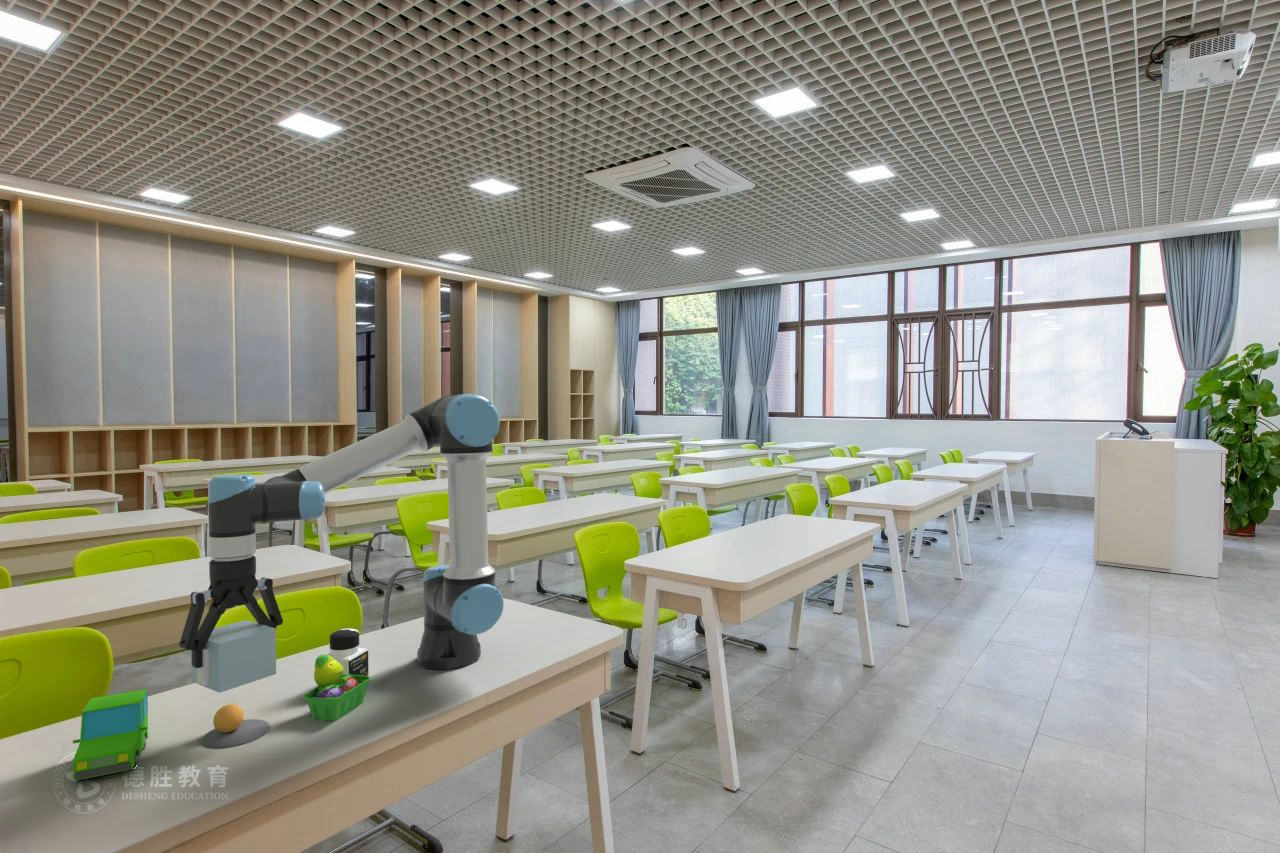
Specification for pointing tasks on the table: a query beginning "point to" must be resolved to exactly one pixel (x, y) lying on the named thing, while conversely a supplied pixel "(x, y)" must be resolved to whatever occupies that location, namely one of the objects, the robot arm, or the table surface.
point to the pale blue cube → (239, 655)
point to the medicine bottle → (349, 652)
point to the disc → (236, 734)
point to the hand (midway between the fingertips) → (234, 673)
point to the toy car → (111, 734)
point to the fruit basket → (334, 690)
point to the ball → (228, 718)
